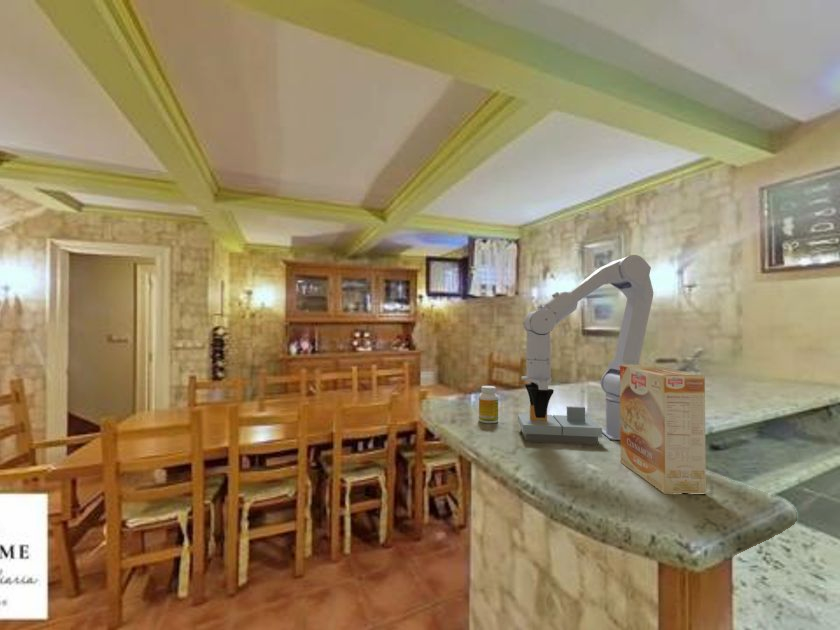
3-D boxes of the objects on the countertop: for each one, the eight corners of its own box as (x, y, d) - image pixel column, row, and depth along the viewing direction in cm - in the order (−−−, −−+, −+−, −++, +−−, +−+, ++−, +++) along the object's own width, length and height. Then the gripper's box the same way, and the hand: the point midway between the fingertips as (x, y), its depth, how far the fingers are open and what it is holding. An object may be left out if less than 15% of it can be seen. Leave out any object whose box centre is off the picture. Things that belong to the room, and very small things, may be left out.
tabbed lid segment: (551, 422, 100) (551, 401, 100) (561, 435, 89) (561, 411, 89) (517, 421, 102) (517, 400, 102) (523, 433, 90) (523, 410, 90)
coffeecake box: (618, 462, 78) (618, 364, 78) (654, 462, 77) (654, 364, 78) (663, 494, 63) (662, 373, 63) (708, 495, 62) (707, 374, 63)
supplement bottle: (498, 424, 107) (498, 388, 107) (478, 423, 108) (478, 387, 108) (498, 419, 112) (498, 385, 112) (479, 418, 113) (479, 384, 113)
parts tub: (585, 432, 99) (585, 420, 99) (597, 444, 89) (597, 430, 89) (520, 429, 101) (520, 417, 101) (525, 441, 91) (526, 427, 91)
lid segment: (562, 435, 89) (562, 411, 89) (552, 422, 100) (552, 401, 100) (602, 437, 88) (602, 413, 88) (587, 424, 99) (587, 403, 99)
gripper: (518, 356, 103) (518, 407, 103) (525, 361, 89) (525, 421, 89) (545, 357, 102) (545, 408, 102) (557, 362, 88) (557, 422, 88)
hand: (538, 414), depth 95 cm, fingers open, 5 cm apart
